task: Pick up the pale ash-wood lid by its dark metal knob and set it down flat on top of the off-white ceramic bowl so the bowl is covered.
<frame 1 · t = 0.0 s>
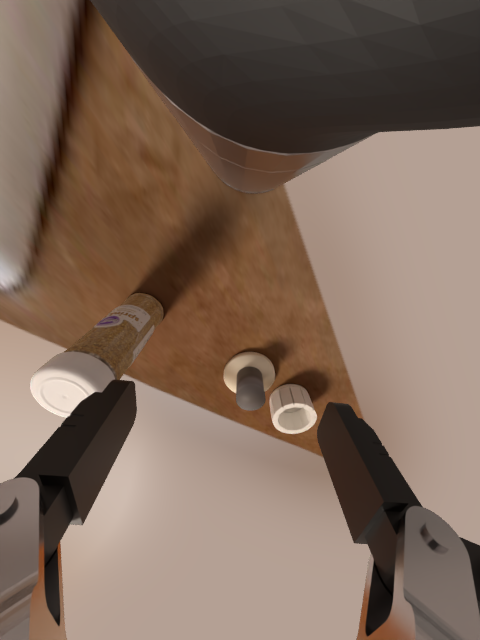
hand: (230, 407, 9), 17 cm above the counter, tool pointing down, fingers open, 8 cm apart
bowl: (289, 398, 33), on the counter
lid: (249, 371, 31), on the counter
sprinkles bottle: (145, 309, 26), on the counter
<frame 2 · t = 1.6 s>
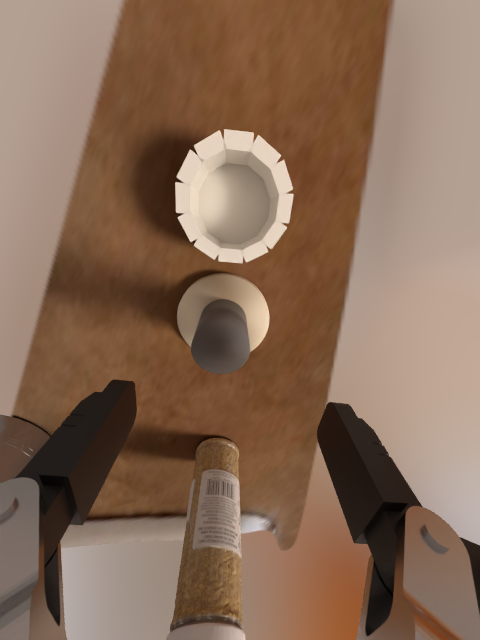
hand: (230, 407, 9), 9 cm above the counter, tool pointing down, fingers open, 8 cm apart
bowl: (234, 206, 14), on the counter
lid: (224, 315, 17), on the counter
sprinkles bottle: (218, 448, 24), on the counter
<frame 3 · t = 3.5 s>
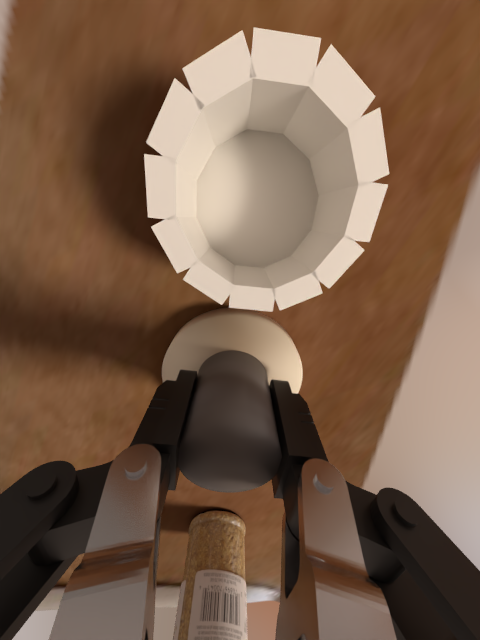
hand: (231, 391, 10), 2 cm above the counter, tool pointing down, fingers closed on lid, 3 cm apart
bowl: (255, 207, 9), on the counter
lid: (232, 367, 12), on the counter, touching gripper
sprinkles bottle: (218, 519, 18), on the counter
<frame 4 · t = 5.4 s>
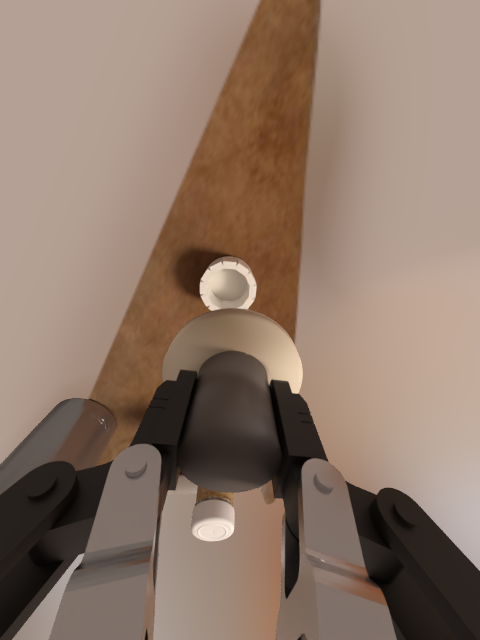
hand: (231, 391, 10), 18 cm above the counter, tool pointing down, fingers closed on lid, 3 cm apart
bowl: (228, 281, 26), on the counter
lid: (233, 367, 12), point 16 cm above the counter, touching gripper
sprinkles bottle: (220, 423, 36), on the counter
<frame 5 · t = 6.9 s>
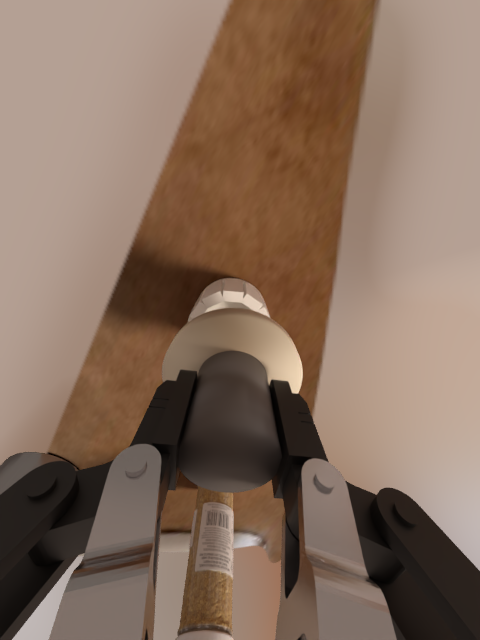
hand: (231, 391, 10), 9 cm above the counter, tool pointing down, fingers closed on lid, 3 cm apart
bowl: (231, 311, 18), on the counter
lid: (232, 367, 12), point 7 cm above the counter, touching gripper
sprinkles bottle: (216, 479, 28), on the counter
when the fingers open (7 cm above the counter, at t = 7.7 s): lid drops 1 cm, resting on bowl.
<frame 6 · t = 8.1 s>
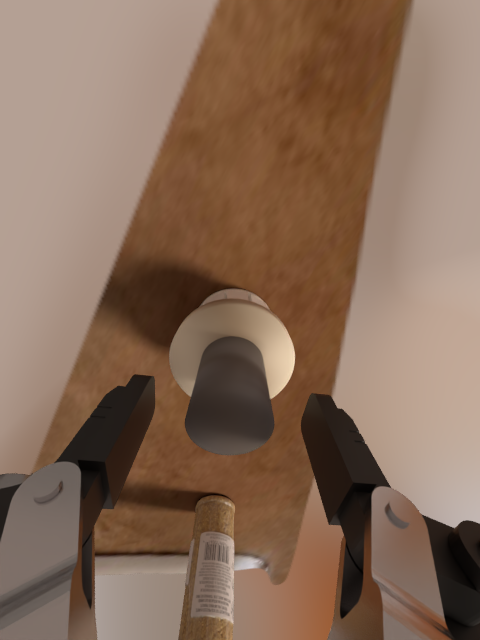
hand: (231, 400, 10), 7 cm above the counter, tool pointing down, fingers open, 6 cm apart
bowl: (233, 326, 16), on the counter
lid: (232, 353, 13), point 3 cm above the counter, touching bowl
sprinkles bottle: (216, 502, 26), on the counter
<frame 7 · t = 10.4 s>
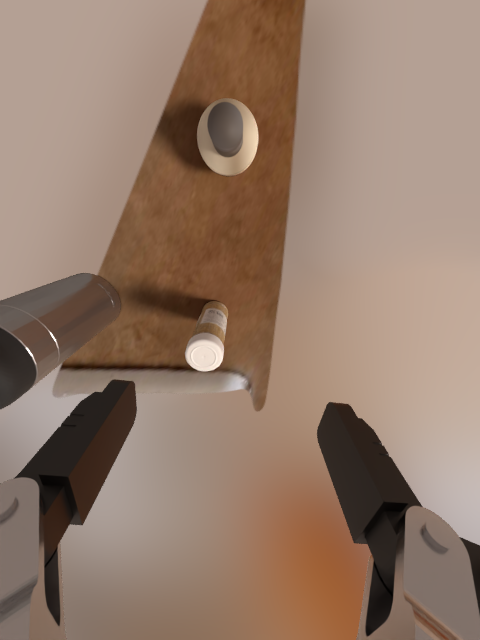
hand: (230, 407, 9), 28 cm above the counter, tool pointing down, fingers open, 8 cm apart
lid: (228, 141, 26), point 3 cm above the counter, touching bowl
sprinkles bottle: (215, 312, 39), on the counter
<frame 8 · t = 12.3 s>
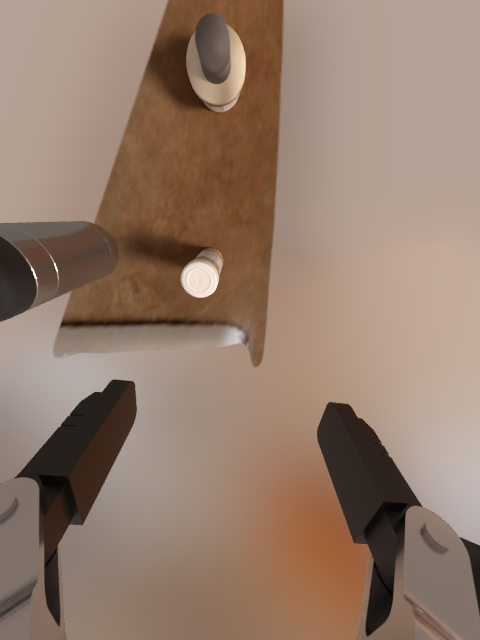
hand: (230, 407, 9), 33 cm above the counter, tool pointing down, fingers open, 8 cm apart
lid: (216, 69, 27), point 3 cm above the counter, touching bowl
sprinkles bottle: (211, 260, 40), on the counter
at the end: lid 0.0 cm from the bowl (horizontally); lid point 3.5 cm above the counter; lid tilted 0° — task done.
